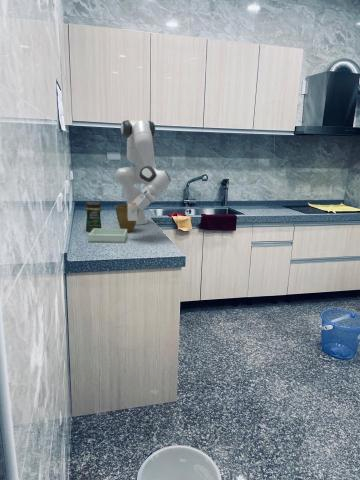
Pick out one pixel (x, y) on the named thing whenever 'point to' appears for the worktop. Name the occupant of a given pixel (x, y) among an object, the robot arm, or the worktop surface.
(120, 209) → the plant pot
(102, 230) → the tray
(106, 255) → the worktop surface
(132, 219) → the cup post
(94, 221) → the coffee jar
